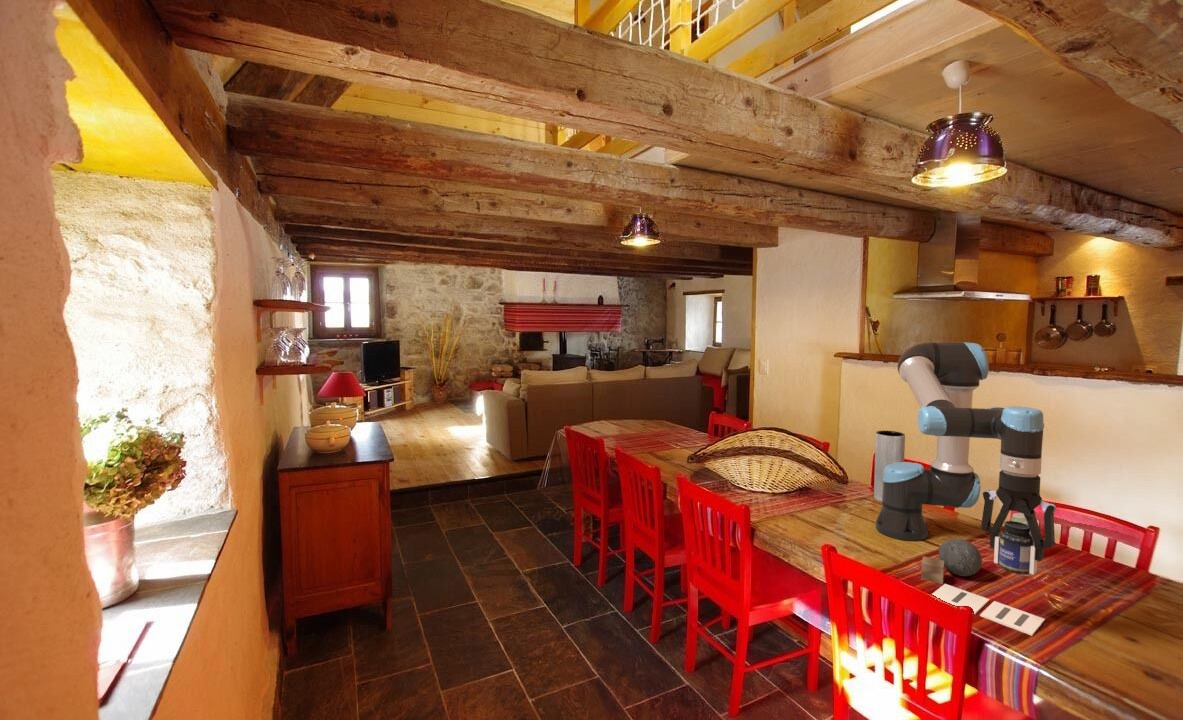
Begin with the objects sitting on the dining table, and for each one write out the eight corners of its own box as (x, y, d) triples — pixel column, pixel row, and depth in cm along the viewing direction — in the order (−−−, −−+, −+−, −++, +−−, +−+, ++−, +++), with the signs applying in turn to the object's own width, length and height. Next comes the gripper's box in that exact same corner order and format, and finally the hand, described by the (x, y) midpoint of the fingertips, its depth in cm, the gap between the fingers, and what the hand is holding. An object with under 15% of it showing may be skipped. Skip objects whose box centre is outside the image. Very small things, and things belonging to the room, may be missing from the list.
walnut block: (921, 580, 144) (921, 562, 144) (922, 573, 148) (923, 556, 148) (942, 585, 141) (943, 567, 141) (943, 577, 145) (944, 560, 145)
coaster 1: (929, 597, 135) (929, 595, 135) (945, 585, 141) (945, 583, 141) (975, 614, 127) (975, 612, 127) (989, 600, 133) (989, 598, 133)
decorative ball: (946, 580, 144) (947, 545, 143) (932, 564, 153) (933, 531, 152) (988, 584, 141) (989, 549, 140) (971, 567, 150) (973, 534, 150)
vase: (902, 505, 200) (904, 437, 198) (872, 501, 205) (874, 434, 203) (903, 498, 208) (905, 432, 206) (875, 493, 214) (876, 429, 212)
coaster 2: (979, 616, 126) (980, 614, 126) (994, 602, 132) (994, 600, 132) (1032, 635, 118) (1032, 633, 118) (1044, 620, 124) (1044, 618, 124)
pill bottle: (992, 564, 127) (993, 520, 126) (1015, 562, 128) (1017, 519, 127) (1014, 576, 121) (1016, 530, 120) (1038, 574, 121) (1040, 529, 121)
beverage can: (1044, 558, 156) (1046, 519, 155) (1016, 556, 157) (1018, 517, 156) (1031, 548, 162) (1033, 511, 161) (1004, 547, 163) (1006, 510, 163)
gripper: (966, 466, 128) (962, 557, 130) (1069, 485, 113) (1063, 588, 114) (977, 461, 132) (973, 548, 134) (1078, 479, 117) (1072, 577, 119)
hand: (1014, 566), depth 124 cm, fingers closed on pill bottle, 6 cm apart
